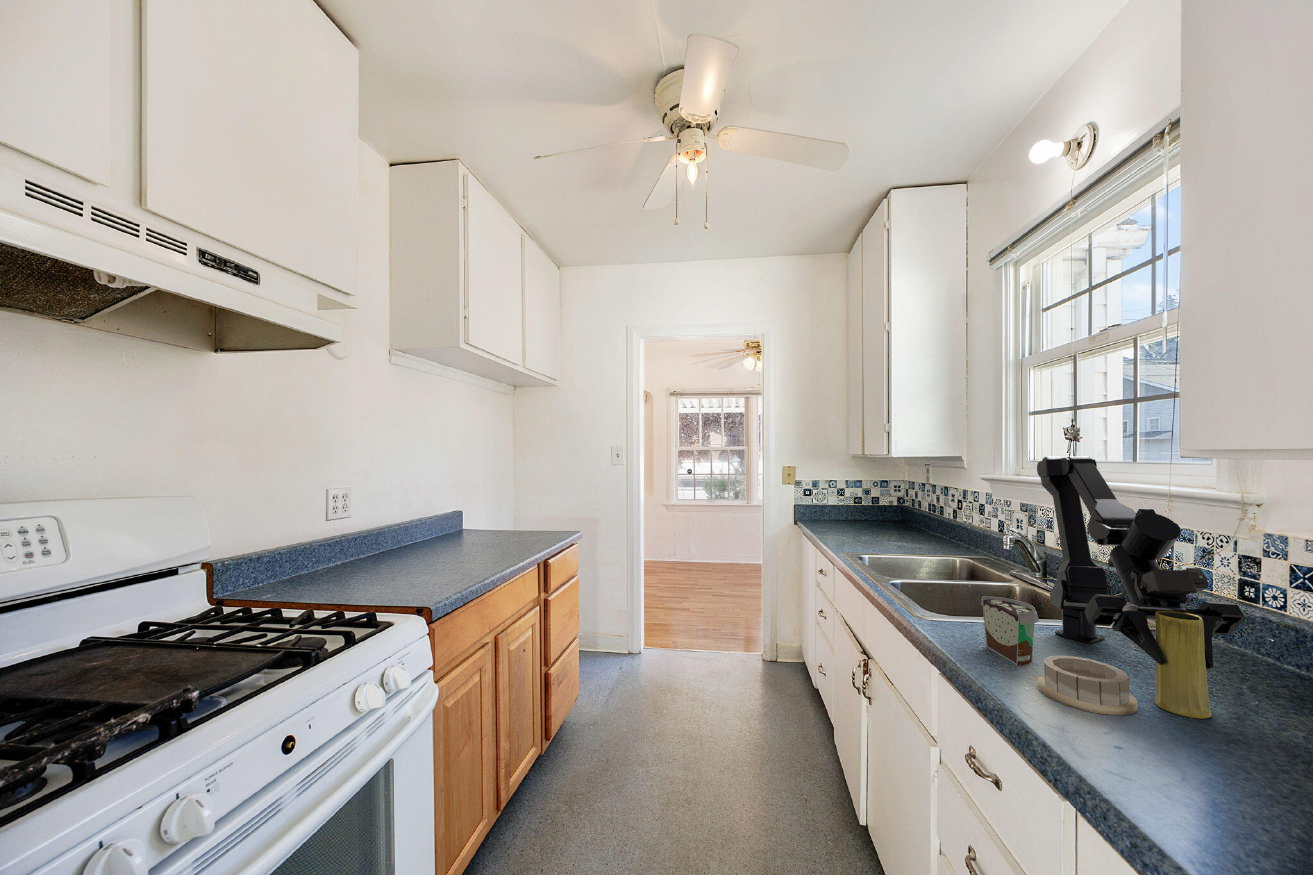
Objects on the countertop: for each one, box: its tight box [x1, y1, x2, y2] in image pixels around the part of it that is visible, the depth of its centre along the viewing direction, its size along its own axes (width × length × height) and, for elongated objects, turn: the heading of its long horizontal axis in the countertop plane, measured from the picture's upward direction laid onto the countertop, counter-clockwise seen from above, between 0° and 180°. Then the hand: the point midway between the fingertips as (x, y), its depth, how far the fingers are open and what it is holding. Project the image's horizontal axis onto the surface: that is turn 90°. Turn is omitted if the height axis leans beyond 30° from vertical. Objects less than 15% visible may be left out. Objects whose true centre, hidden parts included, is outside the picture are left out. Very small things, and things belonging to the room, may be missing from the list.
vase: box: [1154, 610, 1212, 720], centre depth 80 cm, size 6×6×14 cm
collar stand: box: [1037, 655, 1138, 716], centre depth 84 cm, size 12×12×4 cm
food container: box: [980, 595, 1040, 666], centre depth 101 cm, size 12×6×10 cm, turn 179°
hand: (1186, 665), depth 78 cm, fingers closed on vase, 5 cm apart
